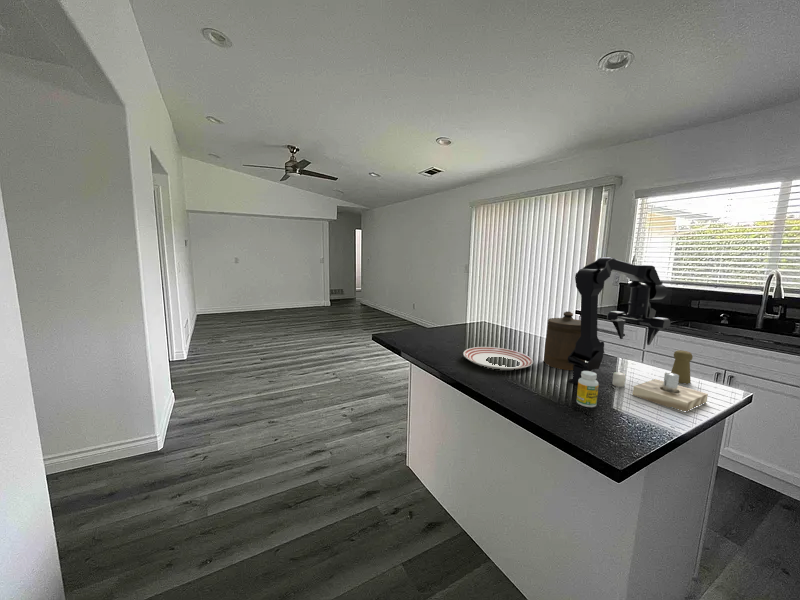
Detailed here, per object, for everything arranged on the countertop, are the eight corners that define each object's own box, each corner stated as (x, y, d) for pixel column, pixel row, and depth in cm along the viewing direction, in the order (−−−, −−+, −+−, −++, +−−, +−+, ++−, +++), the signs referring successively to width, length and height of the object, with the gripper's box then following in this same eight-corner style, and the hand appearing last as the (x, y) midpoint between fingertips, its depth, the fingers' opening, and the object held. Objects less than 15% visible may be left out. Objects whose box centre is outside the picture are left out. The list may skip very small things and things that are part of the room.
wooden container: (590, 366, 138) (595, 312, 135) (573, 373, 129) (578, 316, 126) (554, 357, 149) (558, 307, 147) (536, 363, 140) (540, 310, 137)
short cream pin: (620, 387, 116) (622, 376, 115) (610, 384, 119) (611, 373, 118) (626, 385, 117) (627, 374, 117) (615, 382, 120) (617, 371, 120)
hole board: (685, 412, 97) (687, 402, 97) (632, 395, 109) (633, 386, 109) (706, 403, 104) (707, 393, 104) (654, 387, 116) (655, 378, 116)
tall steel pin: (672, 402, 105) (675, 377, 103) (659, 397, 108) (662, 373, 106) (677, 400, 106) (681, 375, 105) (664, 395, 109) (667, 371, 108)
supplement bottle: (587, 399, 105) (590, 369, 104) (600, 407, 100) (604, 375, 99) (572, 400, 104) (574, 370, 103) (585, 408, 99) (588, 376, 98)
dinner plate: (538, 361, 144) (539, 353, 144) (524, 380, 121) (524, 371, 121) (476, 350, 159) (476, 343, 158) (452, 365, 136) (452, 357, 135)
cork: (682, 378, 126) (686, 349, 125) (694, 384, 120) (699, 354, 119) (665, 377, 127) (668, 348, 125) (676, 383, 121) (680, 353, 119)
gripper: (680, 302, 120) (674, 345, 122) (624, 296, 136) (619, 334, 138) (665, 303, 114) (659, 349, 116) (608, 297, 130) (604, 337, 132)
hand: (634, 341), depth 126 cm, fingers open, 9 cm apart
